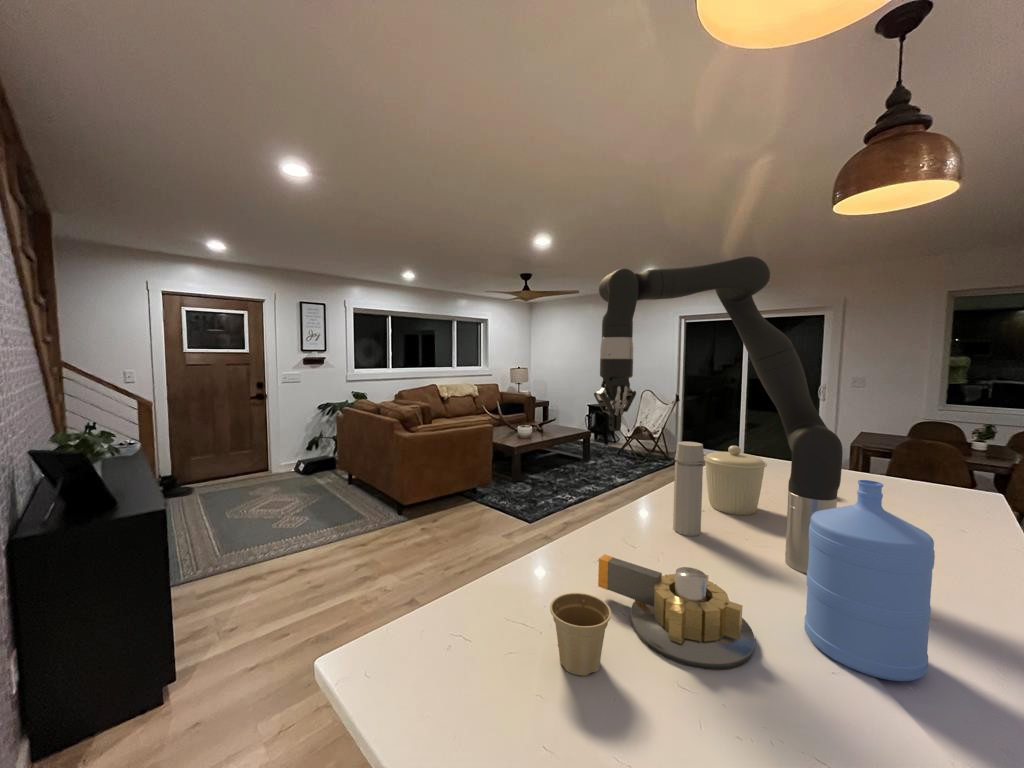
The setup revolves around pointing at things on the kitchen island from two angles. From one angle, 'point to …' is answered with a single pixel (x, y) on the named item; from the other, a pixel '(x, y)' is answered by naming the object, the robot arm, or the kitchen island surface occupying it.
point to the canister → (734, 481)
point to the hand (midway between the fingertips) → (614, 430)
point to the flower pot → (580, 630)
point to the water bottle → (688, 488)
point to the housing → (691, 651)
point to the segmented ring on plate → (673, 602)
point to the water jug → (870, 588)
